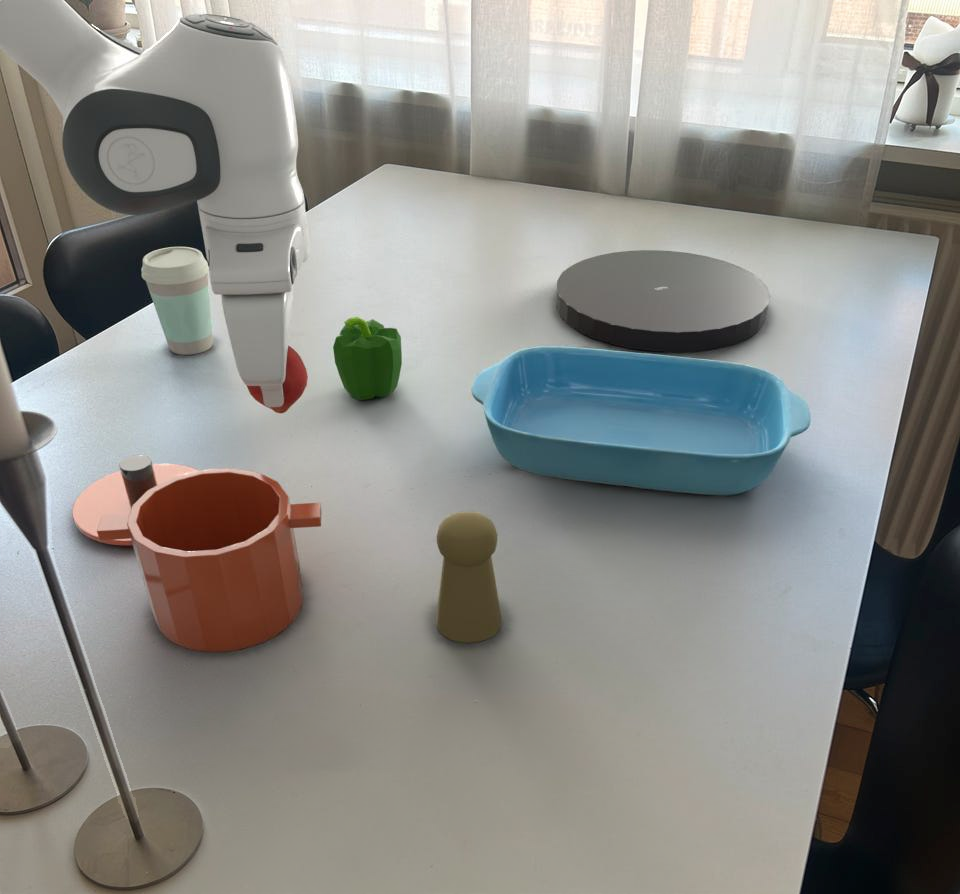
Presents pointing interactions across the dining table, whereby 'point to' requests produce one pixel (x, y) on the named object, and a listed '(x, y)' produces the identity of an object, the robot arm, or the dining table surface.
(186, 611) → the pot
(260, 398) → the onion
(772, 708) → the dining table surface
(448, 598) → the olive pawn piece
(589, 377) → the casserole dish
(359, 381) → the bell pepper
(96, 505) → the pot lid
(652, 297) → the disc
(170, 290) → the coffee cup
